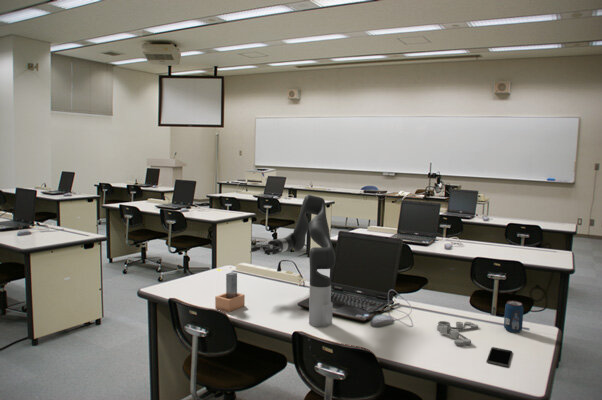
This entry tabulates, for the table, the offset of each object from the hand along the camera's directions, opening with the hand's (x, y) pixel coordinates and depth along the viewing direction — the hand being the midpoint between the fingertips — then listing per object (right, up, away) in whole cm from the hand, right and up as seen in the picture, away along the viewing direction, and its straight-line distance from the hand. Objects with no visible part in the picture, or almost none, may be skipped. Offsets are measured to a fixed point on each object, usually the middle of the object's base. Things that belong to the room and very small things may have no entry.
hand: (258, 250), depth 214 cm
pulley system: (+85, -30, -35) cm, 97 cm away
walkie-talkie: (+59, -27, -7) cm, 66 cm away
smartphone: (+94, -33, -57) cm, 114 cm away
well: (-13, -26, -9) cm, 30 cm away
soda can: (+111, -30, -32) cm, 119 cm away
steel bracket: (-12, -25, -8) cm, 28 cm away
